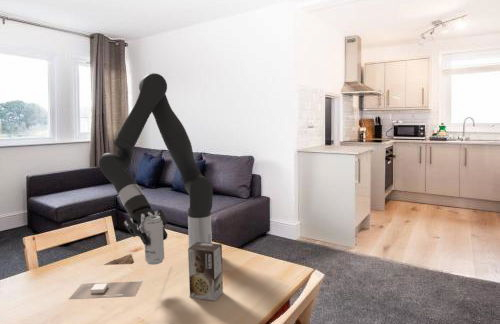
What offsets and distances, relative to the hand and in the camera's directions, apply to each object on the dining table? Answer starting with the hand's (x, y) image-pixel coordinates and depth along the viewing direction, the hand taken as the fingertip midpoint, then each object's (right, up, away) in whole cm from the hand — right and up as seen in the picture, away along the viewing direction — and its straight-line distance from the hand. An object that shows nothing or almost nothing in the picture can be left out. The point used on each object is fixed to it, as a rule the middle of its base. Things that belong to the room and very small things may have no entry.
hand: (157, 241), depth 112 cm
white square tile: (-19, -16, -1) cm, 24 cm away
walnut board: (-16, -17, 0) cm, 23 cm away
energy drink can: (-1, -7, +2) cm, 8 cm away
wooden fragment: (-22, -15, +19) cm, 33 cm away
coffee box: (+16, -17, -2) cm, 23 cm away
